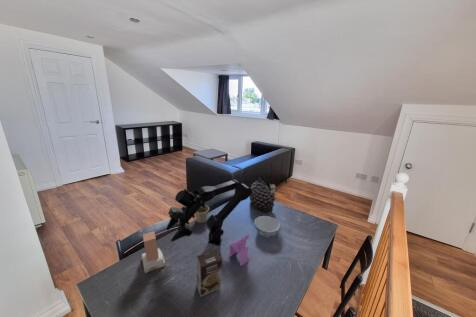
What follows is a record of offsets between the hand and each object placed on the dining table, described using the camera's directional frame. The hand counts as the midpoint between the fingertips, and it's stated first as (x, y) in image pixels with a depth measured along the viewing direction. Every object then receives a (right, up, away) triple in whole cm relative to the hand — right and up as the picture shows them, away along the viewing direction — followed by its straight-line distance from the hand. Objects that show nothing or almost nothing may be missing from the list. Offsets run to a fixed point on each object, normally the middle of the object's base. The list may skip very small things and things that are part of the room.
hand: (169, 235), depth 98 cm
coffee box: (+21, -19, -10) cm, 30 cm away
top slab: (-8, -12, -1) cm, 14 cm away
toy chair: (+34, -14, +7) cm, 37 cm away
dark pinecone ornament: (+50, 0, +50) cm, 71 cm away
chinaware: (+50, -9, +25) cm, 57 cm away
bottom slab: (-8, -14, +1) cm, 16 cm away
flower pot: (+10, -3, +34) cm, 36 cm away
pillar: (-8, -9, -1) cm, 12 cm away
